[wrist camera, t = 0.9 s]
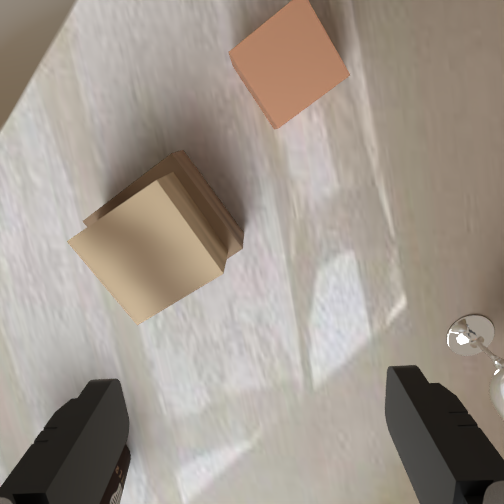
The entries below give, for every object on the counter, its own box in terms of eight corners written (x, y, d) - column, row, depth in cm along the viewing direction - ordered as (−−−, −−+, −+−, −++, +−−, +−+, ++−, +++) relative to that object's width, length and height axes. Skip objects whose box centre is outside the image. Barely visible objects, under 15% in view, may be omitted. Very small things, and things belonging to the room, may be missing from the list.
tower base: (183, 150, 29) (171, 153, 25) (244, 232, 31) (242, 248, 27) (106, 208, 30) (82, 221, 26) (169, 283, 33) (156, 306, 28)
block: (294, 17, 26) (303, -9, 21) (333, 85, 27) (350, 75, 22) (233, 66, 27) (228, 52, 22) (274, 129, 28) (278, 128, 23)
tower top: (173, 171, 25) (156, 180, 21) (228, 251, 27) (223, 273, 23) (97, 223, 26) (66, 241, 22) (155, 296, 28) (137, 325, 24)
